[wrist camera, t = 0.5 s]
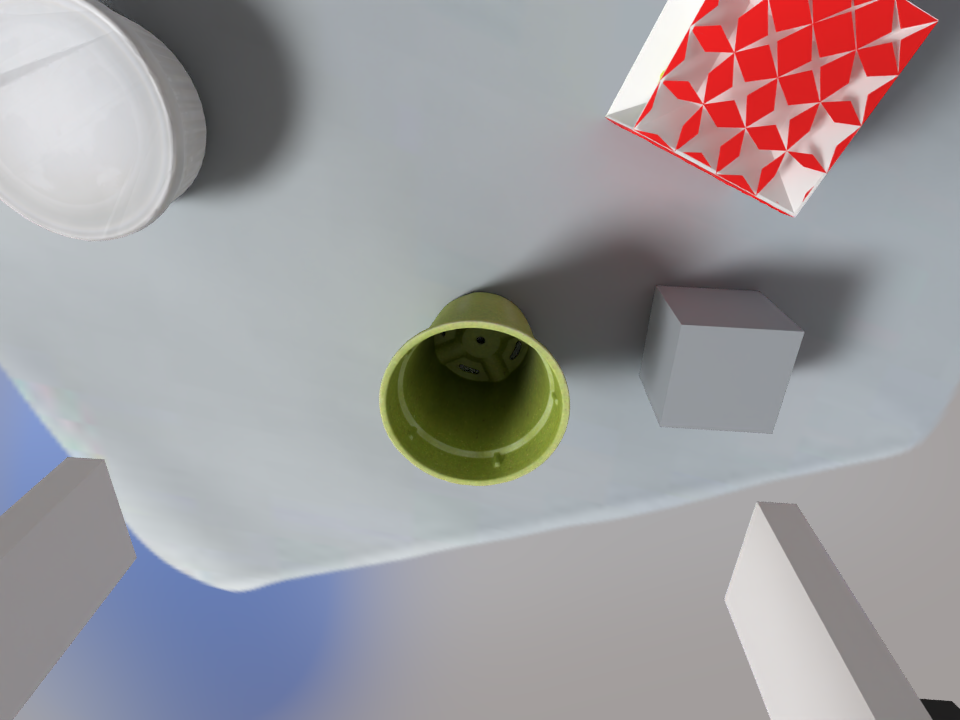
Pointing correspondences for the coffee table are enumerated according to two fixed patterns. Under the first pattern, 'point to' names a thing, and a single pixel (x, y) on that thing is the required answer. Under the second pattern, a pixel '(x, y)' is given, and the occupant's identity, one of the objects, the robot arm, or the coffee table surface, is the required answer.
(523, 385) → the plant pot
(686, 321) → the slate grey block
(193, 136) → the ramekin
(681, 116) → the puzzle cube
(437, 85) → the coffee table surface
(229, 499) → the coffee table surface
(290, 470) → the coffee table surface
